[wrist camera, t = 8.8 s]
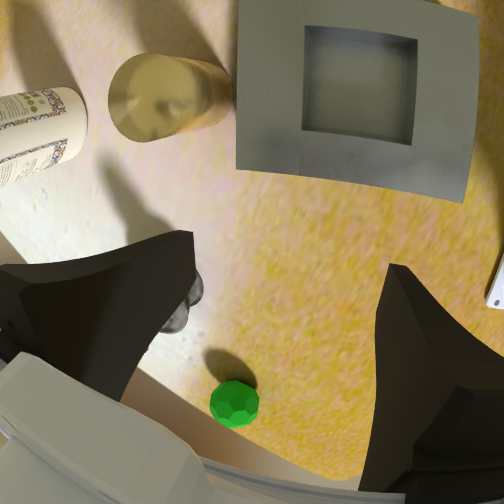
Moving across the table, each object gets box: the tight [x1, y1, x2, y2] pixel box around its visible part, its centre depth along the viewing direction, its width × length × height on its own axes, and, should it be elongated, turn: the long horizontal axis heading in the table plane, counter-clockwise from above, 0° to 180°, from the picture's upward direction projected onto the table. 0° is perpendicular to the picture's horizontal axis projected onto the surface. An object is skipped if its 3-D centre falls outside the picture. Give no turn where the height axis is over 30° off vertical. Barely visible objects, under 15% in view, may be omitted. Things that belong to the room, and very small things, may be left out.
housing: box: [236, 0, 479, 204], centre depth 14 cm, size 12×10×4 cm
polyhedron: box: [210, 380, 259, 428], centre depth 29 cm, size 5×5×5 cm
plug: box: [108, 53, 234, 142], centre depth 16 cm, size 5×5×6 cm
